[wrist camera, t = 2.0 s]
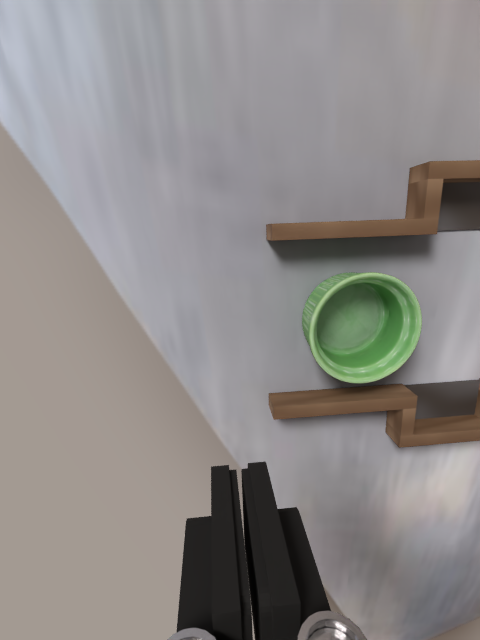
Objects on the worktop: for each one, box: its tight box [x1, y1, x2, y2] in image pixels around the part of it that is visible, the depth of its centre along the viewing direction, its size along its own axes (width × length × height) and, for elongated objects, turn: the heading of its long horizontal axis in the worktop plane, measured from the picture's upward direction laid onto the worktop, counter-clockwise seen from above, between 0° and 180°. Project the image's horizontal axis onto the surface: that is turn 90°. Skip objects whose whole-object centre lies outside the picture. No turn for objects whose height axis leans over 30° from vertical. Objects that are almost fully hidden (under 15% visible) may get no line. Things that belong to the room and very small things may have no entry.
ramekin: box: [302, 273, 422, 383], centre depth 27 cm, size 9×9×4 cm
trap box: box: [266, 160, 480, 448], centre depth 29 cm, size 24×30×2 cm
